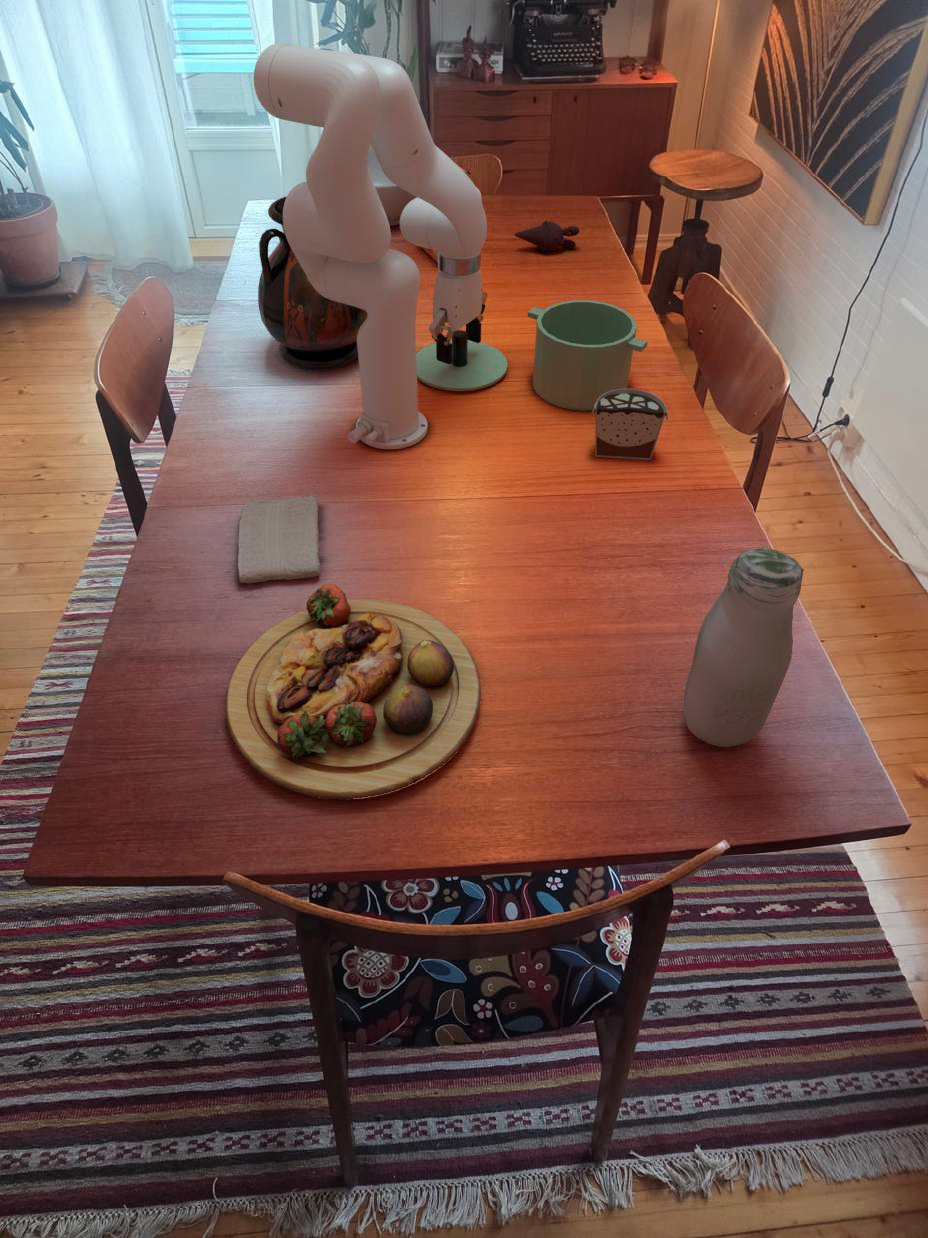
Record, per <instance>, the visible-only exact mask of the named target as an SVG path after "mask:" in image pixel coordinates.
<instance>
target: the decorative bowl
mask: <svg viewBox="0 0 928 1238" xmlns="http://www.w3.org/2000/svg"><path fill="white" fill-rule="evenodd" d="M367 163H368V169H369V172H370V175H371V178H372V181H373V183H374V186H375V188H376V191H377V193H378V196H379V198H380V201H381V203H382V206H383V208H384V211H385V213H386V216H387V219H388V223H389V226H390V227H393V226H397V225H400V217H401V214H402V211H403V209H404V208H405V206H406V205H407V204H408V203H409V202H410V201H412V200H413V199H415V198H417V197H416V196H414V195H412V194H410V193H408V192H407V191H405V190H403V189H402V188H400V187H399V186H397V185H396V184H394V183H393V182H392V181H390V180H389V179H388V178H387V177H386V175H385V174H384V173H383V171H382V168H381V166H380V164H379V162H378V159H377V157H376V155H375V153H374V151H373V148H372V147H371V148H369V153H368V162H367Z"/></svg>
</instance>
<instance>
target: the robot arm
mask: <svg viewBox="0 0 928 1238" xmlns="http://www.w3.org/2000/svg"><path fill="white" fill-rule="evenodd" d="M253 87H254V91H255V94H256V97H257V100H258V101H259V103H260V105H261V107H262V108H263V109H264V110H265V111H266V112H267V113H268V114H269V115H271V116H272V117H274V118H276V119H279V120H283V121H286V122H287V121H288V122H292V123H297V124H303V125H308V126H313V127H318V128H322V131H321V134H320V137H319V139H318V142H317V144H316V147H315V148H314V149H313V152H312V153H311V155H310V157H309V158H308V162H307V165H306V168H305V181H302V182H300V183H298V184H296V185H294V187H292V188H291V190H290V191H289V192H288V194H287V195H286V196H287V197H286V196H285V197H286V200H285V203H284V208H283V226H284V231H285V235H286V238H287V240H288V243H289V245H290V247H291V249H292V250H293V252H294V254H295V256H296V258H297V259H298V261H299V263H300V265H301V267H302V268H303V270H304V272H305V274H306V276H307V277H308V279H309V281H310V282H311V284H312V286H313V287H314V288H315V290H316V291H317V292H318V293H319V294H320V295H322V296H323V297H325V298H327V299H330V300H333V301H336V302H340V303H343V304H347V305H351V306H354V307H357V308H360V309H363V310H365V311H366V312H367V319H366V320H365V321H364V323H363V324H362V325H361V327H360V328H359V331H358V334H357V349H358V357H357V358H358V359H357V360H358V368H359V381H360V391H361V392H360V393H361V404H362V413H361V414H360V415H359V417H358V418H357V420H356V422H355V428H354V429H353V430H351V431H350V432H348V433H347V436H346V438H347V440H348V441H349V442H350V443H351V444H356V443H357V442H359V441H361V442H362V443H364V444H365V445H367V446H369V447H372V448H375V449H378V450H379V449H380V450H400V449H401V450H402V449H405V448H408V447H411V446H415V445H416V444H417V443H419V442H421V441H422V440H423V439H424V438H425V437H426V436H427V433H428V429H429V428H428V427H429V425H428V419H427V418H426V416H425V415H424V414H423V413H422V412H421V411H419V391H418V378H417V362H416V354H417V342H416V341H417V340H416V339H417V337H416V316H417V307H418V300H419V294H420V287H421V274H420V270H419V267H418V265H417V263H416V262H415V261H414V259H412V258H411V257H410V256H409V255H408V254H406V253H403V252H402V251H400V250H397V249H395V248H391V247H390V246H391V242H392V232H391V226H389V223H388V219H387V216H386V213H385V211H384V208H383V206H382V203H381V201H380V198H379V196H378V193H377V191H376V188H375V186H374V183H373V181H372V178H371V175H370V172H369V169H368V163H367V162H368V153H369V148H370V147H371V148H373V151H374V153H375V155H376V157H377V159H378V162H379V164H380V166H381V168H382V171H383V173H384V174H385V175H386V177H387V178H388V179H389V180H390V181H392V182H393V183H394V184H396V185H397V186H399V187H400V188H402V189H403V190H405V191H407V192H408V193H410V194H412V195H414V196H416V197H417V198H415V199H413V200H412V201H410V202H409V203H408V204H407V205H406V206H405V208H404V209H403V211H402V214H401V217H400V224H399V230H400V233H401V235H402V237H403V238H404V239H405V240H406V241H407V243H410V244H412V245H414V246H417V247H420V248H421V247H424V248H428V249H432V250H438V263H437V271H438V272H437V273H436V275H435V279H434V287H433V297H432V299H433V301H432V322H431V323H430V324H429V327H428V330H429V333H430V335H431V338H432V339H433V341H434V343H436V358H437V360H438V361H441V362H443V363H446V364H451V363H452V344H451V343H450V341H451V340H452V336H453V333H454V332H455V331H457V330H461V329H462V328H463V327H465V331H466V332H467V333H468V340H469V341H473V342H476V343H480V342H481V343H482V322H483V320H484V315H483V314H484V312H485V310H486V303H487V298H488V292H486V291H483V279H482V277H483V276H482V272H481V271H482V270H481V269H482V268H481V260H482V249H483V247H484V245H485V243H486V240H487V234H488V220H487V215H486V211H485V208H484V205H483V199H482V198H483V197H482V193H481V191H480V189H479V188H478V187H477V186H476V185H475V183H474V182H473V181H472V179H471V178H470V177H469V176H468V175H467V174H465V173H464V172H463V171H462V170H461V169H460V168H459V167H460V166H459V165H458V164H457V163H456V162H454V161H453V160H452V158H450V157H449V155H447V154H446V153H445V152H444V151H443V150H442V149H440V148H439V146H437V145H436V144H435V142H434V140H433V137H432V134H431V132H430V130H429V129H430V128H429V127H428V124H427V121H426V118H425V116H424V114H423V109H422V108H421V105H420V103H419V100H418V97H417V94H416V92H415V89H414V87H413V83H412V81H411V79H410V76H409V75H408V73H407V72H406V70H405V69H404V68H403V67H402V66H401V65H400V64H399V63H398V62H396V61H394V60H391V59H388V58H385V57H380V56H374V55H367V54H361V53H354V52H349V51H342V50H332V49H322V48H315V47H309V46H304V45H303V46H302V45H297V44H291V43H283V42H277V43H274V44H273V43H272V44H271V45H269V46H267V47H266V48H265V49H264V50H263V51H262V52H261V53H260V55H259V56H258V58H257V60H256V63H255V65H254V70H253ZM456 164H457V165H458V166H459V167H458V166H457V165H456ZM446 324H447V325H446ZM444 331H447V332H446V336H445V335H444V334H443V332H444Z"/></svg>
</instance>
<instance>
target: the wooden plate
mask: <svg viewBox="0 0 928 1238" xmlns="http://www.w3.org/2000/svg"><path fill="white" fill-rule="evenodd" d="M305 605H306V609H303V610H301V611H298V612H296V613H295V614H292V615H291V616H288V617H286V618H285V619H283V620H281V621H279V622H278V623H276V624H274V625H273V626H271V627H270V628H269V629H268V630H266V631H265V632H264V633H262V634H261V635H260V636H259V637H258V638H257V639H256V640H255V641H253V643H252V644H251V645H250V646H249V647H248V649H247V650H246V651H245V652H244V654H243V655H242V656H241V657H240V659H239V661H238V662H237V664H236V666H235V668H234V670H233V672H232V674H231V676H230V679H229V682H228V685H227V689H226V695H225V715H226V726H227V729H228V731H229V734H230V737H231V739H232V741H233V744H234V745H235V747H236V749H237V750H238V752H239V753H240V755H241V756H242V757H243V759H244V760H245V761H246V762H247V763H248V765H250V767H252V768H253V769H254V770H255V771H256V772H257V773H258V774H259V775H261V776H262V777H264V778H265V779H267V780H268V781H270V782H271V783H273V784H275V785H278V786H279V785H280V786H279V787H281V786H282V788H283V787H284V788H283V789H286V790H288V791H290V790H291V792H293V791H294V792H293V793H296V792H297V793H296V794H299V793H300V794H299V795H302V794H304V795H303V796H306V795H307V796H306V797H310V796H312V797H311V798H316V797H320V798H319V800H320V799H321V798H326V799H325V800H331V799H353V798H362V797H368V796H375V795H381V794H384V793H388V792H391V791H395V790H397V789H401V788H403V787H406V786H408V785H409V784H412V783H415V782H416V781H418V780H420V779H421V778H424V777H425V776H426V775H428V774H430V773H432V772H433V771H434V770H436V769H438V768H439V767H441V766H443V764H445V763H446V762H447V761H448V760H449V759H450V758H452V757H453V756H454V755H455V753H456V752H457V751H458V750H459V749H460V748H461V746H462V745H463V743H464V742H465V740H466V739H467V737H468V736H469V737H470V735H471V733H472V731H473V729H474V727H475V725H476V722H477V719H478V716H479V713H478V712H480V706H481V697H482V687H481V679H480V674H479V671H478V668H477V664H476V662H475V660H474V658H473V655H472V654H471V652H470V650H469V649H468V647H467V645H466V644H465V643H464V641H463V640H462V639H461V638H460V637H459V636H458V635H457V634H456V632H454V631H453V630H452V629H451V628H450V627H449V626H448V625H446V624H445V623H443V622H442V621H440V620H439V619H437V618H436V617H434V616H433V615H431V614H429V613H427V612H425V611H422V610H420V609H418V608H416V607H414V606H409V605H406V604H403V603H400V602H395V601H389V600H381V599H371V598H369V599H368V598H359V599H358V598H355V599H347V596H346V593H345V592H344V591H343V589H342V588H340V587H339V586H338V585H336V584H334V583H325V584H323V585H321V586H320V588H317V589H316V591H314V592H313V593H312V594H311V595H308V599H307V601H306V604H305ZM474 724H475V725H474ZM473 726H474V727H473ZM469 734H470V735H469ZM469 737H468V738H469ZM467 740H468V739H467ZM467 740H466V741H467ZM465 743H466V742H465ZM465 743H464V744H465ZM463 746H464V745H463ZM463 746H462V747H463ZM461 749H462V748H461ZM461 749H460V750H461ZM460 750H459V751H460ZM459 751H458V752H459ZM455 756H456V755H455ZM455 756H454V757H455ZM454 757H453V758H454ZM453 758H452V759H453ZM445 765H446V764H445ZM384 767H385V768H384ZM443 767H444V766H443ZM376 769H378V770H376ZM437 772H438V771H436V772H435V773H437ZM423 781H424V780H422V781H420V782H419V783H421V782H423ZM401 791H402V790H400V791H397V792H394V793H391V794H387V795H386V796H388V795H392V794H395V793H398V792H401ZM378 797H379V798H380V796H378ZM378 797H377V798H378ZM327 798H328V799H327ZM375 798H376V797H373V798H372V799H375ZM316 799H317V798H316ZM368 799H370V798H368ZM368 799H367V800H368ZM321 800H322V799H321ZM357 800H358V801H359V800H361V799H356V800H355V801H357ZM331 801H332V800H331Z"/></svg>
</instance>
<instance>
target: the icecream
mask: <svg viewBox="0 0 928 1238" xmlns="http://www.w3.org/2000/svg"><path fill="white" fill-rule="evenodd" d="M578 234H580V228H579V227H578V226H575V225H569V226H567V227H565V228H562V227H561V226H560V224H558V223H556V222H553V221H548V220H544V221H543V222H542V223H541V224H540V225H537V226H534V227H531V228H528V229H524V230H521V231H518V232H515V233H514V237H516V238H519V239H520V240H523V241H525V242H527V243H530V244H532V245H535V246H536V247H539V248H540V250H541V251H542V253H545V252H553V251H556V250H558V249H559V248H560V247H561V248H563V249H565V250H572V249H575V248H576V242H575V241H574V240H571V239H566V238H565V237H567V238H571V237H575V236H577V235H578Z"/></svg>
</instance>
